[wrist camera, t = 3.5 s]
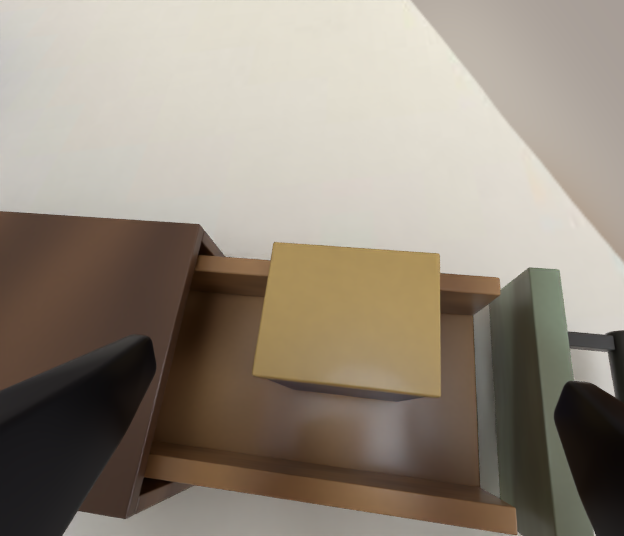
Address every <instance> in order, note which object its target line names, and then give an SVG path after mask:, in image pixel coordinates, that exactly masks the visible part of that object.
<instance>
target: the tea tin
mask: <svg viewBox="0 0 624 536" xmlns="http://www.w3.org/2000/svg"><path fill="white" fill-rule="evenodd" d="M252 376H254V377H257V378H266V379H268V380H271V381H273V382H276V383H278V384H281V385H283V386H286V387H288V388H291V389H294V390H302V391H311V392H319V393H328V394H336V395H345V396H353V397H361V398H370V399H378V400H387V401H395V402H399V401H405V400H411V399H417V398H423V397H429V398H439V397H440V396H441V343H440V255H439V254H437V253H423V252H408V251H394V250H380V249H365V248H351V247H336V246H322V245H307V244H293V243H279V242H274V244H273V249H272V255H271V261H270V267H269V273H268V279H267V285H266V291H265V297H264V303H263V309H262V315H261V321H260V327H259V332H258V338H257V344H256V350H255V356H254V362H253V368H252Z"/></svg>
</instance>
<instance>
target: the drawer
mask: <svg viewBox="0 0 624 536" xmlns="http://www.w3.org/2000/svg"><path fill="white" fill-rule="evenodd" d="M270 261H271V260H258V259H245V258H232V257H219V256H205V255H198V257H197V261H196V265H195V269H194V273H193V277H192V282H191V286H190V290H189V294H188V298H187V302H186V306H185V310H184V314H183V318H182V323H181V327H180V331H179V335H178V339H177V343H176V347H175V351H174V355H173V359H172V364H171V368H170V372H169V376H168V380H167V384H166V388H165V392H164V396H163V400H162V404H161V409H160V413H159V417H158V421H157V425H156V429H155V433H154V437H153V441H152V445H151V450H150V454H149V458H148V462H147V466H146V470H145V474H144V477H146V478H153V479H159V480H165V481H172V482H178V483H185V484H191V485H197V486H204V487H210V488H217V489H223V490H229V491H236V492H242V493H249V494H255V495H261V496H268V497H274V498H281V499H287V500H293V501H300V502H306V503H313V504H319V505H325V506H332V507H338V508H345V509H351V510H357V511H364V512H370V513H377V514H383V515H389V516H396V517H402V518H409V519H415V520H422V521H428V522H434V523H441V524H447V525H454V526H460V527H466V528H473V529H479V530H486V531H492V532H498V533H505V534H511V535H517V534H518V532H519V533H520V534H521V535H523V536H594V531H593V527H592V525H591V522H590V520H589V518H588V516H587V513H586V511H585V509H584V506H583V504H582V502H581V499H580V497H579V494H578V491H577V488H576V486H575V483H574V480H573V477H572V474H571V471H570V468H569V465H568V462H567V459H566V456H565V453H564V449H563V446H562V443H561V440H560V437H559V434H558V431H557V428H556V425H555V422H554V410H555V407H556V405H557V402H558V400H559V397H560V394H561V392H562V389H563V387H564V385H565V384H566V383H567V382H568V381H574V378H573V370H572V363H571V355H570V349H581V350H591V351H602V352H608V356H609V362H610V368H611V374H612V380H613V386H614V392H615V398H617V399H618V400H620V401H621V402H623V403H624V330H622V331H613V332H609V333H606V335H600V334H589V333H578V332H567V324H566V317H565V309H564V302H563V294H562V286H561V279H560V271H559V270H557V269H543V268H528V269H527V270H525V271H524V272H523V273H521V274H520V275H519V276H518V277H516V278H515V279H514V280H512V281H511V282H510V283H509V284H507V285H506V286H505V287H503V288H502V289H501V290H500V279H499V278H496V277H483V276H470V275H457V274H443V273H440V343H441V396H440V397H439V398H429V397H423V398H417V399H411V400H405V401H399V402H395V401H387V400H378V399H370V398H361V397H353V396H345V395H336V394H328V393H319V392H311V391H302V390H294V389H291V388H288V387H286V386H283V385H281V384H278V383H276V382H273V381H271V380H268V379H266V378H257V377H254V376H252V368H253V362H254V356H255V350H256V344H257V338H258V332H259V327H260V321H261V315H262V309H263V303H264V297H265V291H266V285H267V279H268V273H269V267H270ZM488 304H489V311H490V328H491V346H492V363H493V381H494V399H495V416H496V434H497V451H498V469H499V487H500V499H499V498H498V497H496V496H494V495H492V494H491V493H489V492H487V491H485V490H484V489H482V488H480V474H479V449H478V424H477V400H476V375H475V350H474V326H473V315H474V314H476V313H477V312H478V311H480V310H481V309H482V308H484V307H485V306H486V305H488Z"/></svg>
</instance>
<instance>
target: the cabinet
mask: <svg viewBox="0 0 624 536" xmlns="http://www.w3.org/2000/svg"><path fill="white" fill-rule="evenodd" d="M198 255H205V256H219V257H225V256H224V255H223V253H222V252H221V251H220V249H219V248H218V247H217V246H216V244H215V243H214V242H213V241H212V239H211V238H210V237H209V236H208V234H207V233H206V232H205V231H204V229H203V228H202V227H201V225H199V224H188V223H172V222H157V221H142V220H126V219H111V218H95V217H80V216H65V215H49V214H34V213H18V212H3V211H0V391H1V390H3V389H5V388H8V387H10V386H12V385H15V384H17V383H19V382H22V381H24V380H26V379H29V378H31V377H33V376H36V375H38V374H40V373H43V372H45V371H47V370H50V369H52V368H54V367H57V366H59V365H61V364H64V363H66V362H68V361H71V360H73V359H75V358H78V357H80V356H82V355H85V354H87V353H89V352H92V351H94V350H96V349H99V348H101V347H103V346H106V345H108V344H110V343H113V342H115V341H117V340H120V339H122V338H124V337H127V336H129V335H133V334H135V335H145V336H148V337H150V338H151V340H152V343H153V348H154V353H155V359H156V365H157V367H156V373H155V375H154V378H153V380H152V382H151V384H150V386H149V388H148V390H147V392H146V394H145V396H144V398H143V400H142V402H141V404H140V406H139V408H138V410H137V412H136V414H135V416H134V418H133V420H132V422H131V424H130V426H129V428H128V430H127V431H126V433H125V435H124V437H123V439H122V440H121V442H120V444H119V445H118V447H117V448H116V450H115V452H114V453H113V455H112V457H111V458H110V460H109V461H108V463H107V465H106V466H105V468H104V469H103V471H102V473H101V474H100V476H99V477H98V479H97V481H96V482H95V484H94V485H93V487H92V489H91V490H90V492H89V493H88V495H87V497H86V498H85V500H84V501H83V503H82V505H81V506H80V508H79V509H78V511H82V512H87V513H93V514H99V515H105V516H111V517H116V518H122V519H127V518H129V517H131V516H133V515H134V514H137V513H139V512H141V511H143V510H145V509H147V508H149V507H151V506H153V505H155V504H157V503H159V502H161V501H163V500H165V499H167V498H169V497H171V496H173V495H176V494H178V493H180V492H182V491H184V490H186V489H188V488H190V487H192V486H194V485H191V484H185V483H178V482H172V481H165V480H159V479H153V478H146V477H144V474H145V470H146V466H147V462H148V458H149V454H150V450H151V445H152V441H153V437H154V433H155V429H156V425H157V421H158V417H159V413H160V409H161V404H162V400H163V396H164V392H165V388H166V384H167V380H168V376H169V372H170V368H171V364H172V359H173V355H174V351H175V347H176V343H177V339H178V335H179V331H180V327H181V323H182V318H183V314H184V310H185V306H186V302H187V298H188V294H189V290H190V286H191V282H192V277H193V273H194V269H195V265H196V261H197V257H198Z"/></svg>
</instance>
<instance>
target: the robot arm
mask: <svg viewBox="0 0 624 536" xmlns="http://www.w3.org/2000/svg"><path fill="white" fill-rule="evenodd" d="M156 367H157V365H156V359H155V353H154V348H153V343H152V340H151V338H150V337H148V336H145V335H135V334H133V335H129V336H127V337H124V338H122V339H120V340H117V341H115V342H113V343H110V344H108V345H106V346H103V347H101V348H99V349H96V350H94V351H92V352H89V353H87V354H85V355H82V356H80V357H78V358H75V359H73V360H71V361H68V362H66V363H64V364H61V365H59V366H57V367H54V368H52V369H50V370H47V371H45V372H43V373H40V374H38V375H36V376H33V377H31V378H29V379H26V380H24V381H22V382H19V383H17V384H15V385H12V386H10V387H8V388H5V389H3V390H1V391H0V536H62V535H63V534H64V532H65V530H66V529H67V527H68V526H69V524H70V522H71V521H72V519H73V518H74V516H75V514H76V513H77V511H78V509H79V508H80V506H81V505H82V503H83V501H84V500H85V498H86V497H87V495H88V493H89V492H90V490H91V489H92V487H93V485H94V484H95V482H96V481H97V479H98V477H99V476H100V474H101V473H102V471H103V469H104V468H105V466H106V465H107V463H108V461H109V460H110V458H111V457H112V455H113V453H114V452H115V450H116V448H117V447H118V445H119V444H120V442H121V440H122V439H123V437H124V435H125V433H126V431H127V430H128V428H129V426H130V424H131V422H132V420H133V418H134V416H135V414H136V412H137V410H138V408H139V406H140V404H141V402H142V400H143V398H144V396H145V394H146V392H147V390H148V388H149V386H150V384H151V382H152V380H153V378H154V375H155V373H156ZM554 422H555V425H556V428H557V431H558V434H559V437H560V440H561V443H562V446H563V449H564V453H565V456H566V459H567V462H568V465H569V468H570V471H571V474H572V477H573V480H574V483H575V486H576V488H577V491H578V494H579V497H580V499H581V502H582V504H583V506H584V509H585V511H586V513H587V516H588V518H589V520H590V522H591V525H592V527H593V529H594V531H595V534H596V536H624V403H623V402H621V401H620V400H618V399H617V398H615V397H613V396H612V395H610V394H609V393H607V392H605V391H604V390H602V389H601V388H599V387H597V386H596V385H594V384H592V383H588V382H579V381H568V382H567V383H566V384H565V385H564V387H563V389H562V392H561V394H560V397H559V400H558V402H557V405H556V407H555V410H554Z"/></svg>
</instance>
